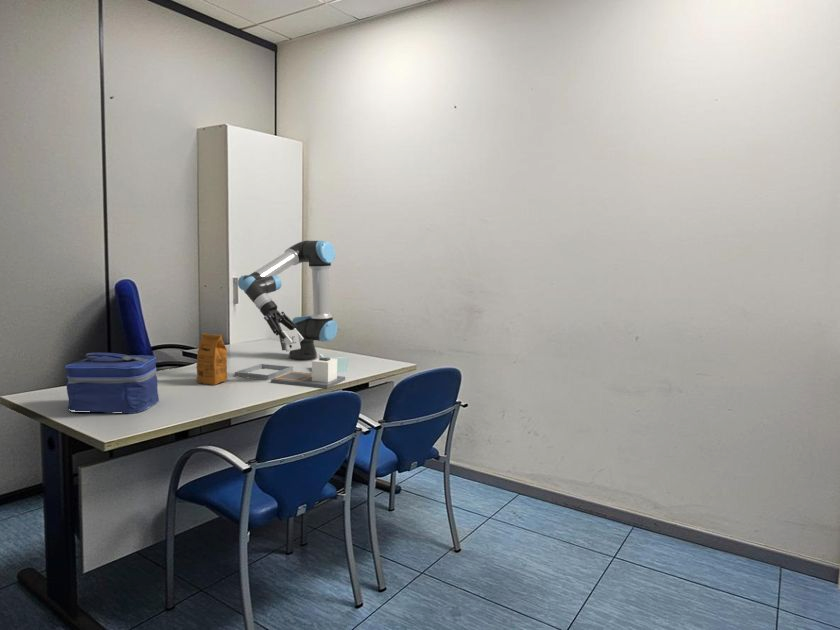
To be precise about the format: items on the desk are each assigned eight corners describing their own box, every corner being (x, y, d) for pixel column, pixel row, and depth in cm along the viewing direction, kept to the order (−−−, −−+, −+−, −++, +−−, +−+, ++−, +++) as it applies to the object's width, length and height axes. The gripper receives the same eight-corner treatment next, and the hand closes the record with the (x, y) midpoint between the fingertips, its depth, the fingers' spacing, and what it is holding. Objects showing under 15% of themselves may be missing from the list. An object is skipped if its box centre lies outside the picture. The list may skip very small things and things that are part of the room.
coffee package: (210, 378, 258) (209, 331, 256) (230, 381, 253) (229, 333, 250) (192, 382, 250) (191, 333, 247) (213, 386, 244) (212, 336, 242)
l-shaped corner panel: (347, 372, 279) (347, 357, 278) (323, 373, 275) (323, 358, 274) (342, 367, 290) (342, 353, 290) (319, 368, 286) (319, 354, 286)
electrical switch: (287, 351, 254) (285, 331, 253) (278, 351, 256) (277, 331, 256) (301, 349, 262) (299, 329, 261) (292, 349, 264) (291, 329, 264)
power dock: (291, 374, 271) (291, 351, 269) (345, 379, 262) (345, 356, 261) (271, 382, 254) (271, 357, 252) (327, 388, 245) (327, 362, 244)
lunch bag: (52, 414, 199) (49, 357, 197) (83, 398, 220) (81, 347, 217) (142, 414, 201) (141, 358, 199) (165, 399, 222) (164, 348, 220)
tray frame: (261, 367, 285) (261, 363, 285) (293, 370, 279) (293, 366, 279) (234, 376, 264) (234, 372, 264) (268, 379, 259) (268, 375, 258)
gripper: (274, 308, 272) (303, 343, 269) (246, 312, 252) (277, 351, 248) (284, 298, 270) (313, 333, 267) (257, 301, 249) (288, 340, 246)
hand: (295, 342), depth 258 cm, fingers closed on electrical switch, 9 cm apart
